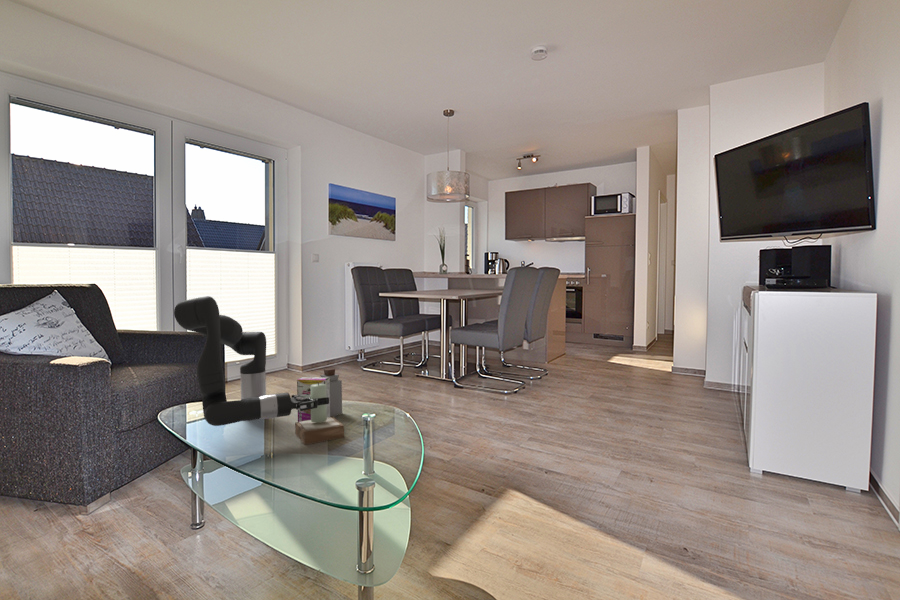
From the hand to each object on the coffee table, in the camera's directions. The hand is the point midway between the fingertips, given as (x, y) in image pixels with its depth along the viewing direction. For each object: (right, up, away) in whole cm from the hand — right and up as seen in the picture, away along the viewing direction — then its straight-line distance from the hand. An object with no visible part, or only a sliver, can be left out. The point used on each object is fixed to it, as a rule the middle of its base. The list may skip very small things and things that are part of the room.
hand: (326, 398), depth 155 cm
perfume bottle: (-5, -12, +25) cm, 28 cm away
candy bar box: (-9, -12, +16) cm, 22 cm away
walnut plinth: (-2, -12, -1) cm, 13 cm away
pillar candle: (-2, -7, -1) cm, 7 cm away
